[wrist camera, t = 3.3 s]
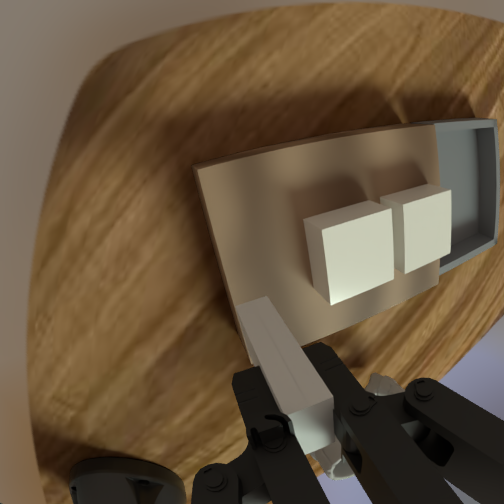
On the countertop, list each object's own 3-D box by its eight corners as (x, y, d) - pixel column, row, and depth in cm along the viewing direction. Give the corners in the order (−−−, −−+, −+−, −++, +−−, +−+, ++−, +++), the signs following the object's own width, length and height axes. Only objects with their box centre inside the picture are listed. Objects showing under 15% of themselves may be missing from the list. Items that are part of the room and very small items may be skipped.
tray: (418, 264, 29) (438, 275, 26) (410, 122, 24) (433, 123, 21) (478, 235, 31) (496, 243, 28) (475, 117, 26) (496, 119, 23)
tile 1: (383, 261, 22) (404, 274, 20) (379, 196, 21) (402, 204, 18) (429, 242, 23) (450, 252, 21) (427, 183, 21) (451, 189, 19)
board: (238, 335, 26) (251, 364, 22) (191, 165, 21) (197, 169, 17) (411, 267, 29) (438, 283, 25) (402, 123, 24) (434, 124, 20)
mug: (275, 384, 29) (327, 481, 18) (379, 338, 31) (451, 408, 20) (288, 426, 32) (331, 509, 21) (377, 384, 34) (435, 450, 23)
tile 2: (313, 288, 21) (330, 305, 19) (303, 219, 20) (321, 229, 17) (373, 265, 22) (393, 279, 20) (368, 200, 20) (391, 208, 18)
